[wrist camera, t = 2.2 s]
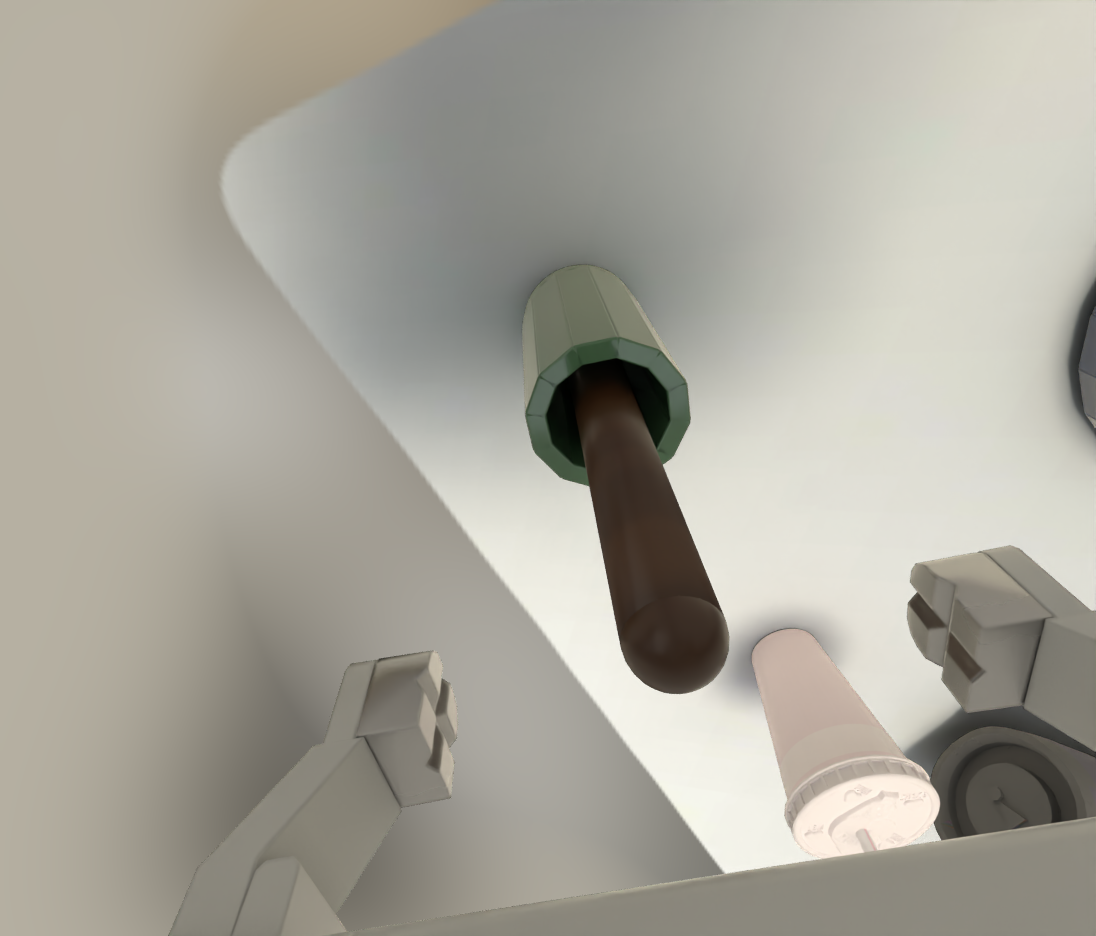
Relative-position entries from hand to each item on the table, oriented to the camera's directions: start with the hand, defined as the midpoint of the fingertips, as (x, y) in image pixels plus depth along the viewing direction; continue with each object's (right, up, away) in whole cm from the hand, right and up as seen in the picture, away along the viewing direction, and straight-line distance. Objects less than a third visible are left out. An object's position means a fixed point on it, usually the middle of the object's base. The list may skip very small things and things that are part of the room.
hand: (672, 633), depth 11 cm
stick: (-1, +8, +14) cm, 17 cm away
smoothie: (+11, -7, +25) cm, 28 cm away
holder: (-1, +9, +15) cm, 17 cm away
